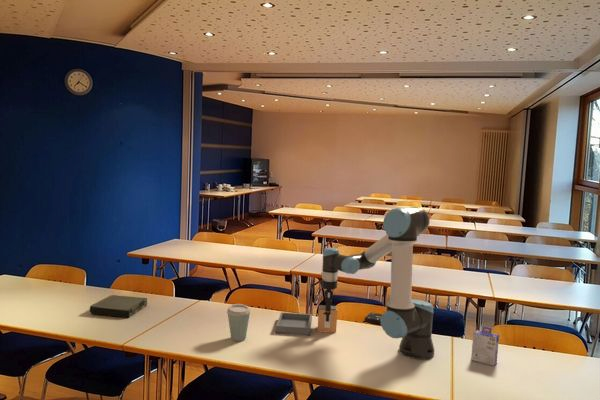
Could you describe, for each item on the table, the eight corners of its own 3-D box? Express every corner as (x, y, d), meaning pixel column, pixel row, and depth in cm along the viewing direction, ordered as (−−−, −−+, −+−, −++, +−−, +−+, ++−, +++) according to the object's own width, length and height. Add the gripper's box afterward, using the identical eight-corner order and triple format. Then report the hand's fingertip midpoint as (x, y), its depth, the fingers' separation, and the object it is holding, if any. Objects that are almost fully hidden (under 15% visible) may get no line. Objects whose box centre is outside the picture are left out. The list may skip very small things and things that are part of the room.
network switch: (133, 319, 239) (133, 309, 238) (86, 317, 239) (86, 307, 239) (148, 305, 262) (149, 296, 262) (106, 302, 262) (106, 293, 262)
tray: (309, 335, 228) (309, 328, 227) (275, 332, 229) (276, 325, 229) (311, 321, 248) (312, 314, 247) (280, 318, 249) (281, 312, 248)
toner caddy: (336, 332, 233) (337, 309, 232) (317, 331, 233) (318, 308, 232) (336, 328, 239) (337, 305, 238) (317, 327, 239) (319, 304, 238)
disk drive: (364, 322, 251) (392, 328, 244) (364, 317, 250) (392, 322, 244) (370, 317, 260) (397, 322, 254) (370, 312, 260) (397, 316, 253)
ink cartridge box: (497, 361, 207) (500, 329, 206) (494, 366, 203) (497, 333, 201) (473, 356, 212) (476, 324, 211) (470, 360, 208) (473, 327, 206)
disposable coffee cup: (254, 339, 219) (255, 307, 218) (236, 345, 212) (237, 312, 210) (239, 333, 227) (240, 301, 225) (221, 338, 219) (222, 306, 217)
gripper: (322, 273, 246) (320, 313, 248) (321, 286, 222) (318, 331, 224) (337, 274, 246) (335, 314, 248) (337, 287, 221) (334, 332, 223)
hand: (327, 322), depth 236 cm, fingers open, 12 cm apart
